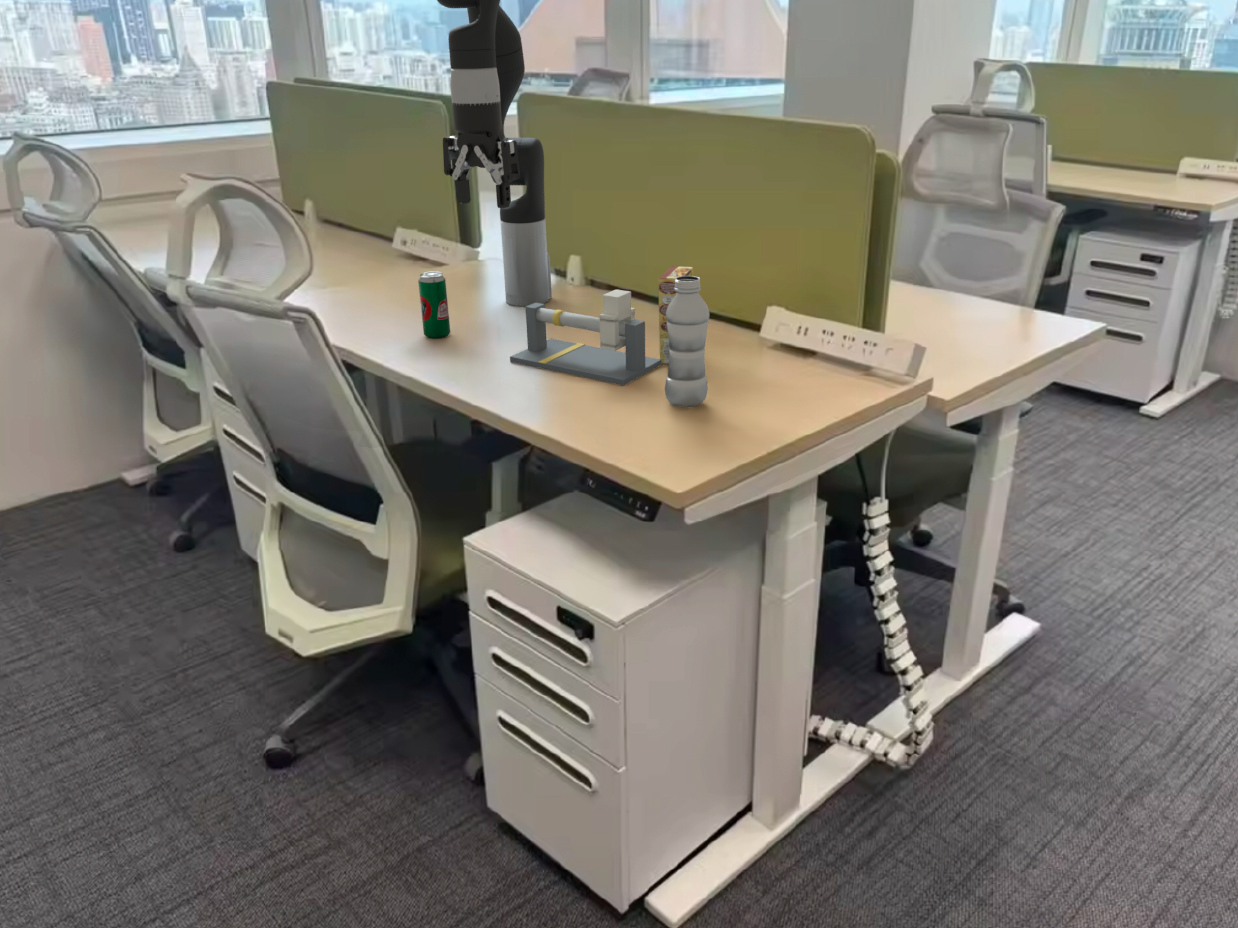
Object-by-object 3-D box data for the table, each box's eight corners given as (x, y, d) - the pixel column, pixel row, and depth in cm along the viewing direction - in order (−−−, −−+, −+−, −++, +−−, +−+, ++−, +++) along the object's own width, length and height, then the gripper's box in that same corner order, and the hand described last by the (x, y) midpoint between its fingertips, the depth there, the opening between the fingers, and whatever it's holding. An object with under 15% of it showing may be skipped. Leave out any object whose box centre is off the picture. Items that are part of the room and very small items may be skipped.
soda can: (445, 340, 189) (439, 278, 184) (420, 339, 190) (413, 277, 185) (454, 332, 194) (448, 271, 189) (429, 331, 195) (423, 270, 190)
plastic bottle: (662, 398, 160) (661, 274, 151) (704, 396, 160) (706, 272, 152) (667, 413, 154) (667, 285, 145) (711, 410, 154) (713, 283, 146)
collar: (620, 338, 173) (619, 287, 169) (635, 341, 172) (634, 290, 168) (600, 348, 169) (598, 296, 165) (615, 351, 167) (614, 299, 163)
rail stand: (551, 343, 186) (548, 296, 182) (661, 365, 174) (661, 314, 170) (510, 362, 177) (506, 312, 173) (623, 385, 165) (622, 333, 161)
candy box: (681, 366, 173) (682, 279, 167) (658, 364, 175) (657, 277, 168) (693, 350, 181) (694, 266, 175) (671, 348, 182) (671, 265, 176)
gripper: (526, 99, 155) (532, 205, 161) (459, 96, 162) (467, 198, 169) (493, 103, 149) (501, 213, 156) (426, 100, 157) (435, 205, 163)
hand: (483, 205), depth 162 cm, fingers open, 8 cm apart
